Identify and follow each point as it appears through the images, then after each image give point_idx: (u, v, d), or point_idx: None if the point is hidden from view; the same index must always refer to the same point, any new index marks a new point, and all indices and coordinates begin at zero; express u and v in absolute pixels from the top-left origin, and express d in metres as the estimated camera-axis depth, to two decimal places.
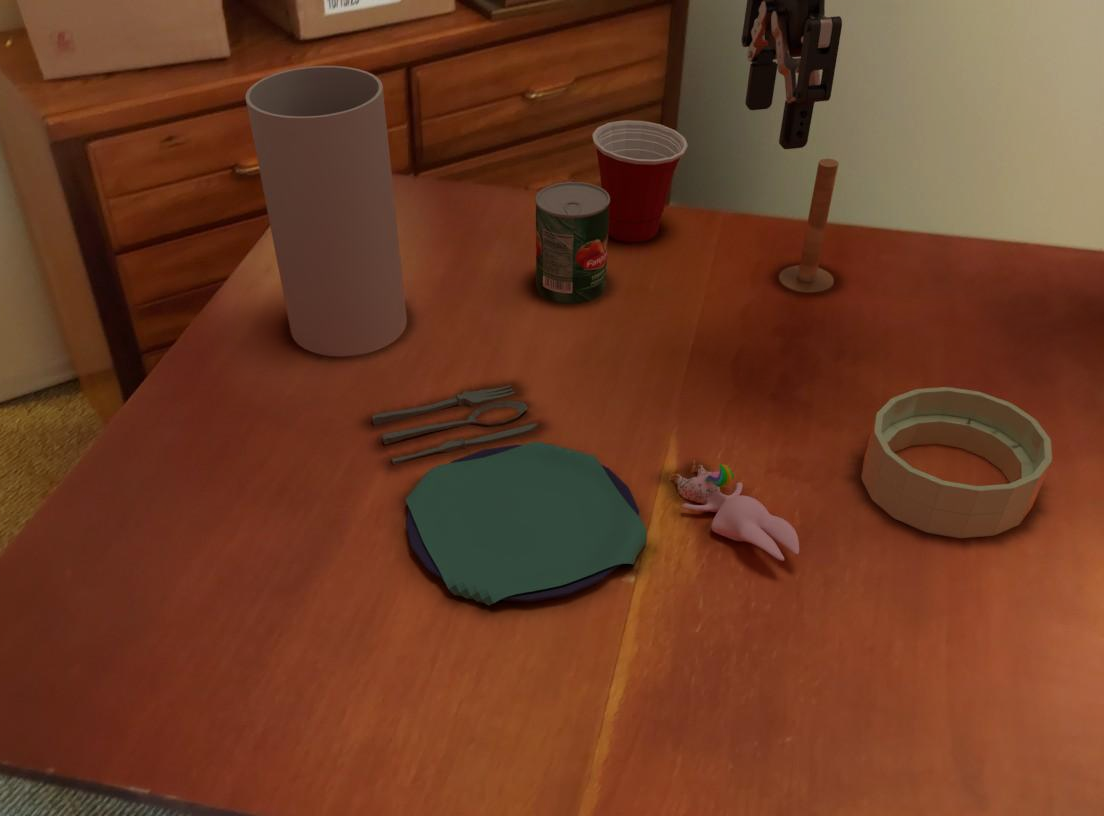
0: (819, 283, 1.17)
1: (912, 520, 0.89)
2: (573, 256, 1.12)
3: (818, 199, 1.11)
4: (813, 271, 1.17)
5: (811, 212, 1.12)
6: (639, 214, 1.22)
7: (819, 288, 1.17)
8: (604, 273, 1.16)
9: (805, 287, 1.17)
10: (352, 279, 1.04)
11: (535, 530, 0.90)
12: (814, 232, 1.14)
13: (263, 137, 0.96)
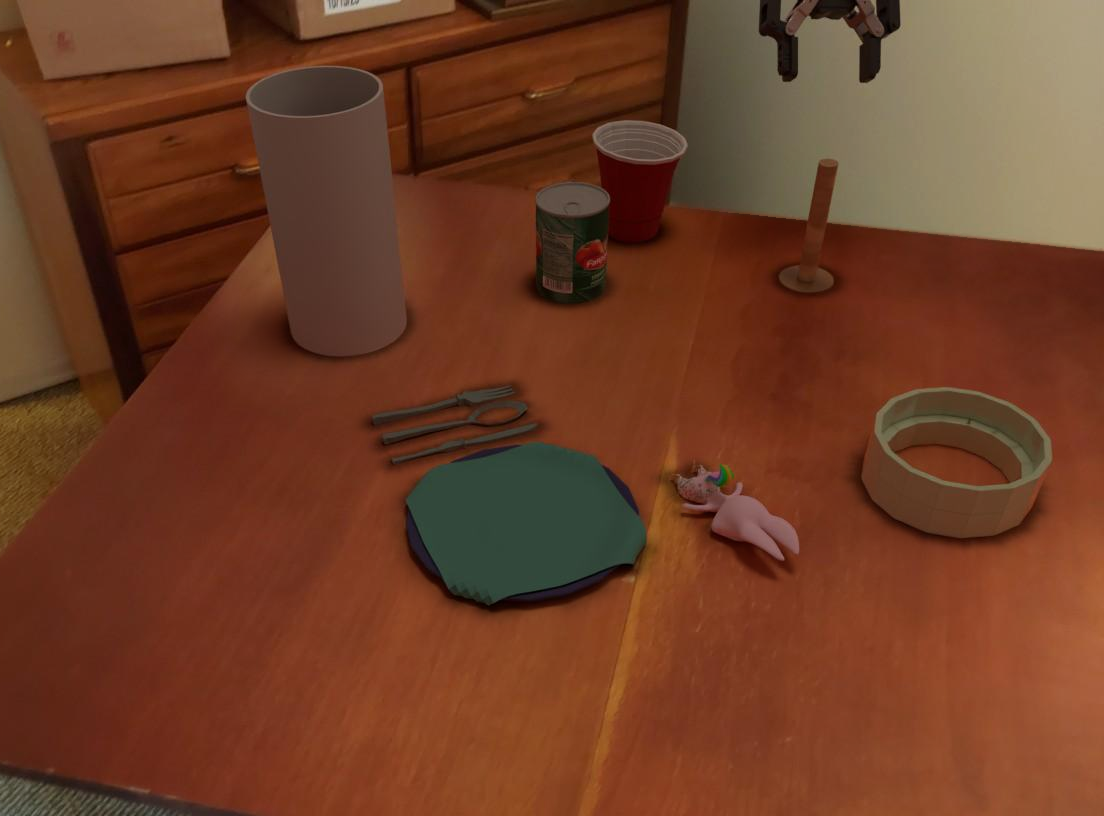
0: (819, 283, 1.17)
1: (912, 520, 0.89)
2: (573, 256, 1.12)
3: (818, 199, 1.11)
4: (813, 271, 1.17)
5: (811, 212, 1.12)
6: (639, 214, 1.22)
7: (819, 288, 1.17)
8: (604, 273, 1.16)
9: (805, 287, 1.17)
10: (352, 279, 1.04)
11: (535, 530, 0.90)
12: (814, 232, 1.14)
13: (264, 136, 0.96)
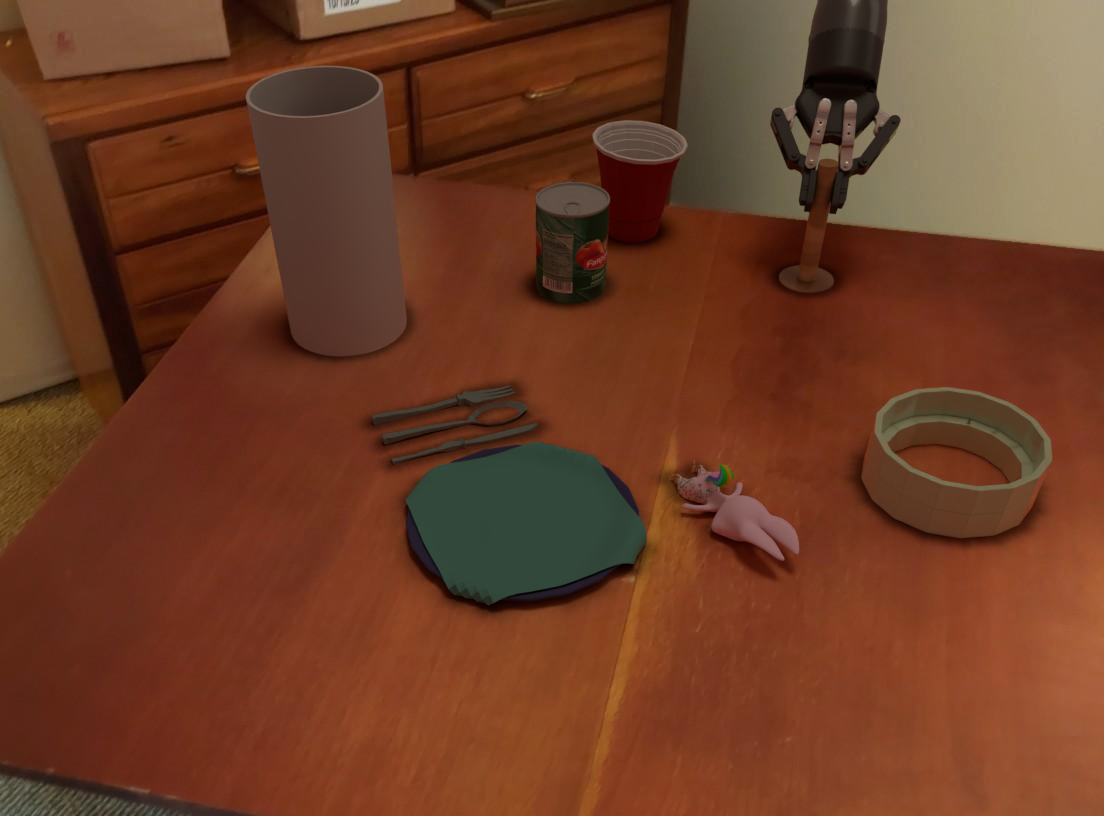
0: (819, 283, 1.17)
1: (912, 520, 0.89)
2: (573, 256, 1.12)
3: (818, 199, 1.11)
4: (813, 271, 1.17)
5: (811, 212, 1.12)
6: (639, 214, 1.22)
7: (819, 288, 1.17)
8: (604, 273, 1.16)
9: (805, 287, 1.17)
10: (352, 279, 1.04)
11: (535, 530, 0.90)
12: (814, 232, 1.14)
13: (264, 136, 0.96)
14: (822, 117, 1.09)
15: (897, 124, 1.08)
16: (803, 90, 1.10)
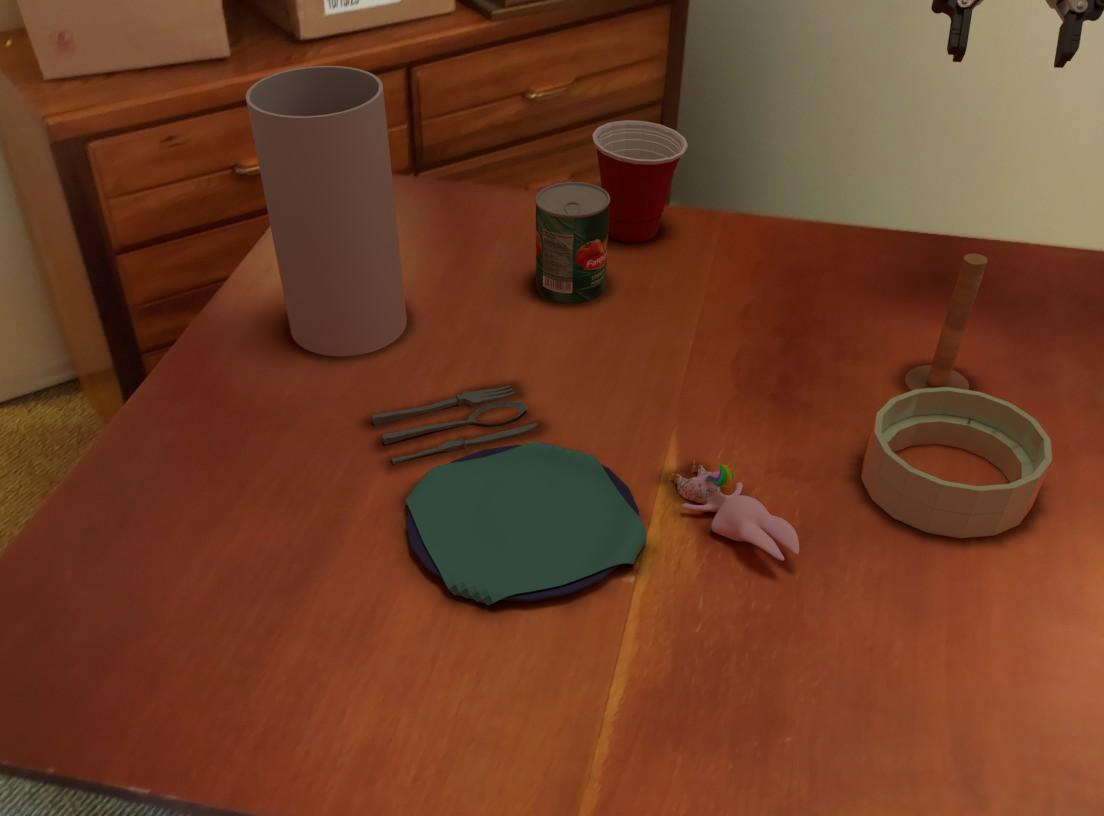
0: None
1: (912, 520, 0.89)
2: (573, 256, 1.12)
3: (961, 299, 0.96)
4: (947, 375, 1.02)
5: (951, 313, 0.98)
6: (639, 214, 1.22)
7: None
8: (604, 273, 1.16)
9: None
10: (352, 279, 1.04)
11: (535, 530, 0.90)
12: (953, 335, 0.99)
13: (264, 136, 0.96)
14: None
15: None
16: None
